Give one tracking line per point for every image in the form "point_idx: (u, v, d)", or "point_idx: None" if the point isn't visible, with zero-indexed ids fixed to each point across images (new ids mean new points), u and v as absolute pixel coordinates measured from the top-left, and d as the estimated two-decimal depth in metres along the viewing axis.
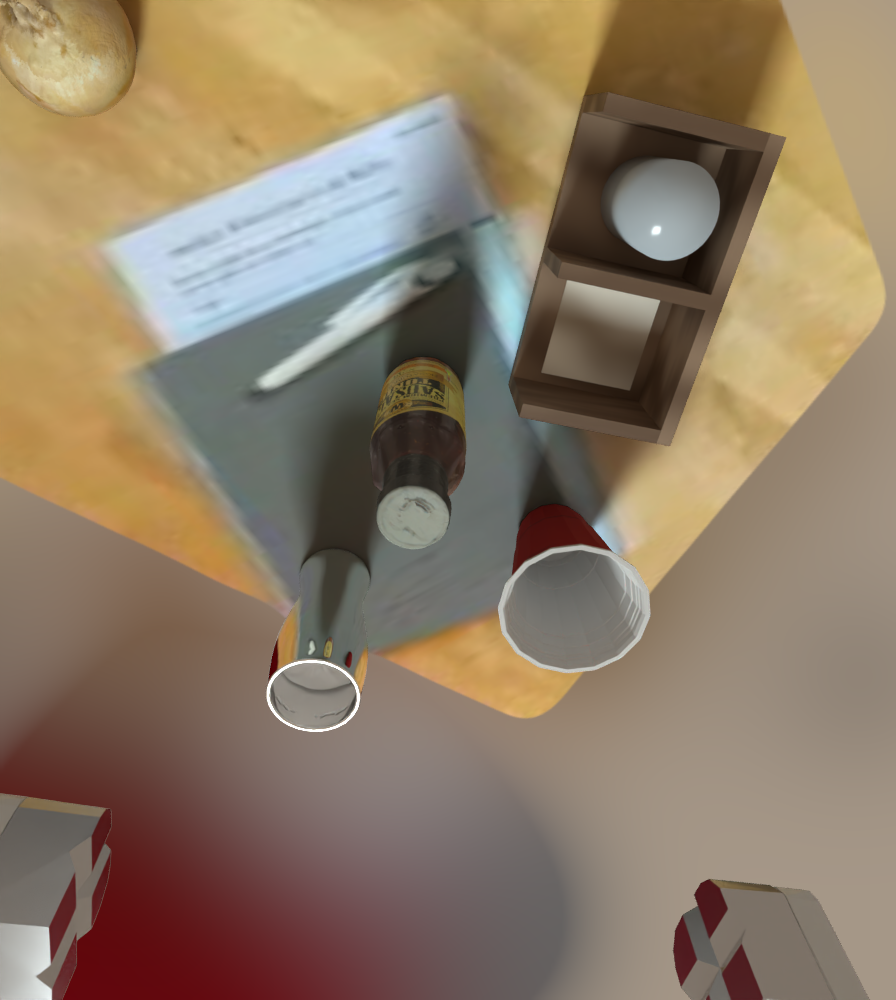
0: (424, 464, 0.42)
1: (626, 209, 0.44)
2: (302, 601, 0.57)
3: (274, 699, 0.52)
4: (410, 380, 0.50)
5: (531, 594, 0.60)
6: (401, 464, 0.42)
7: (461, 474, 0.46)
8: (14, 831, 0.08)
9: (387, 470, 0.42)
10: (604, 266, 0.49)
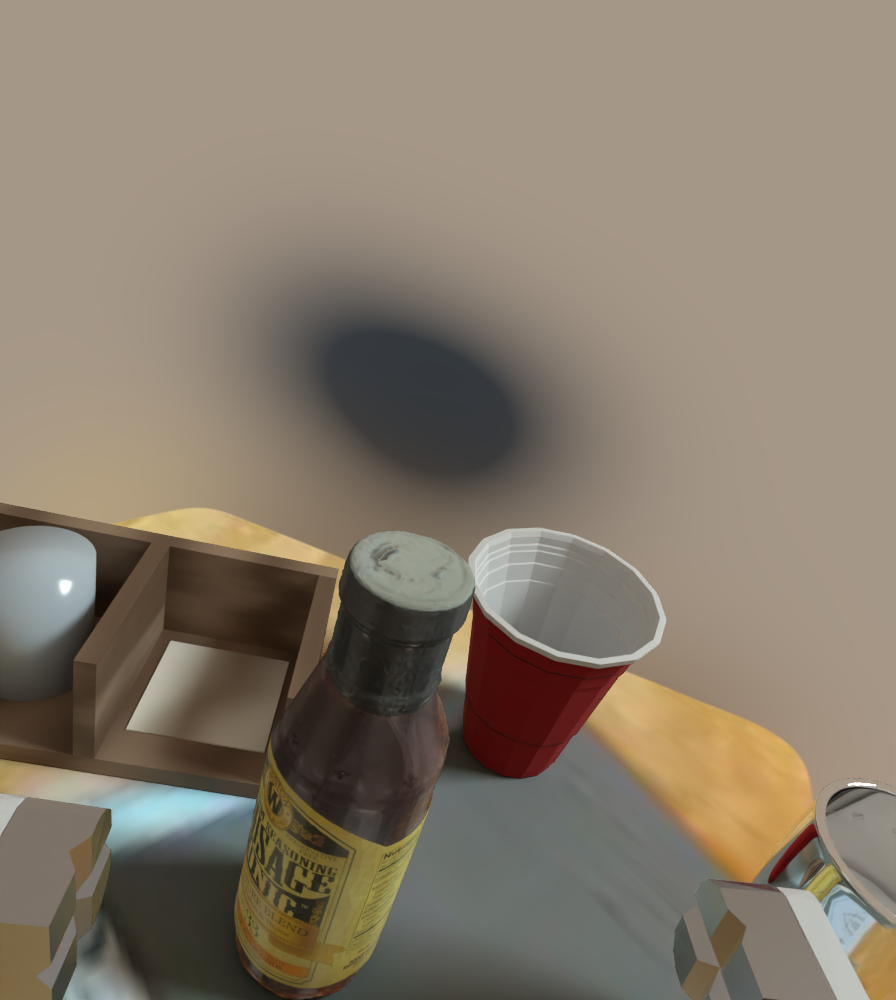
0: None
1: (15, 590, 0.34)
2: None
3: None
4: (249, 860, 0.27)
5: None
6: (340, 659, 0.23)
7: None
8: (14, 831, 0.08)
9: (360, 693, 0.23)
10: None
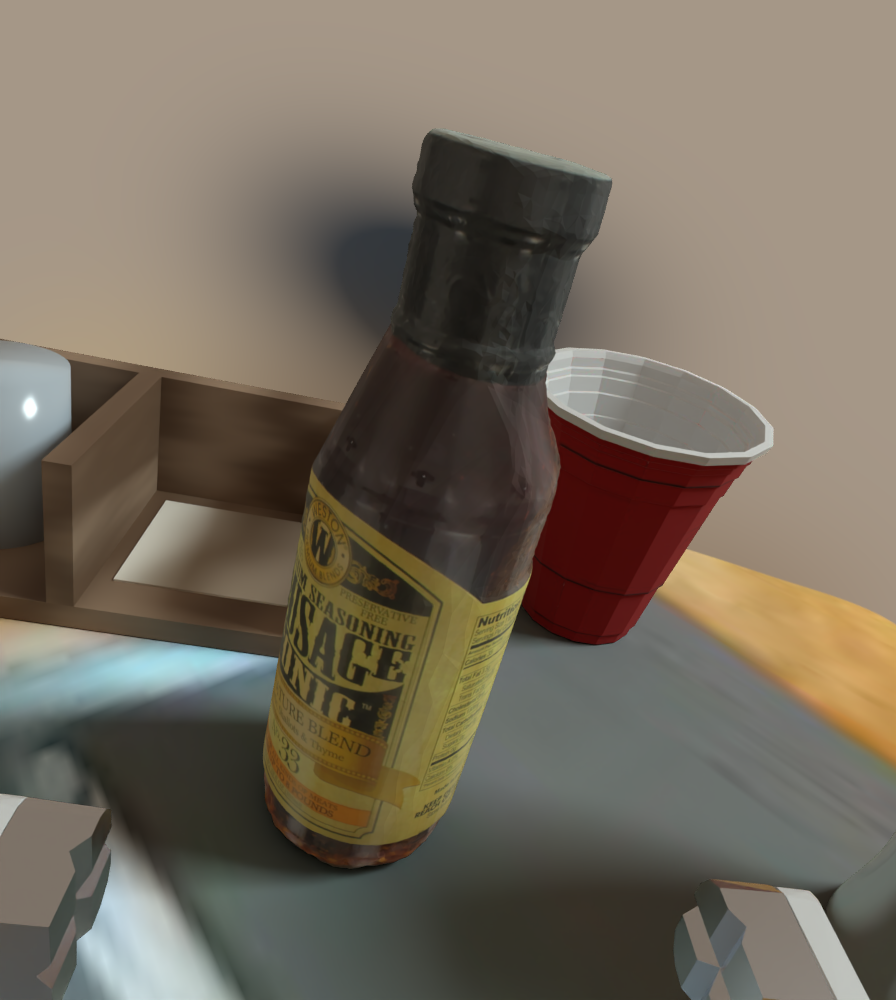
0: (403, 277, 0.17)
1: None
2: None
3: None
4: (285, 663, 0.20)
5: None
6: (417, 299, 0.16)
7: None
8: (14, 831, 0.08)
9: (449, 342, 0.15)
10: None
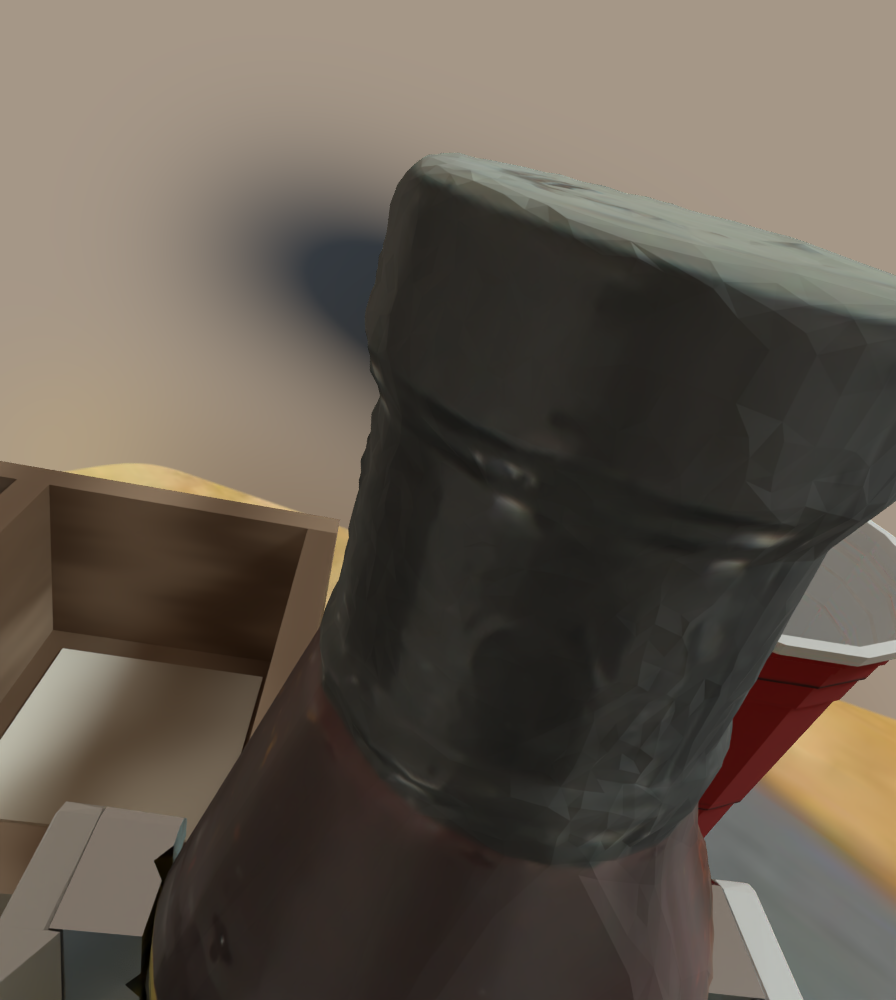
0: None
1: None
2: None
3: None
4: None
5: None
6: (380, 635, 0.06)
7: None
8: (99, 841, 0.09)
9: (471, 779, 0.05)
10: None
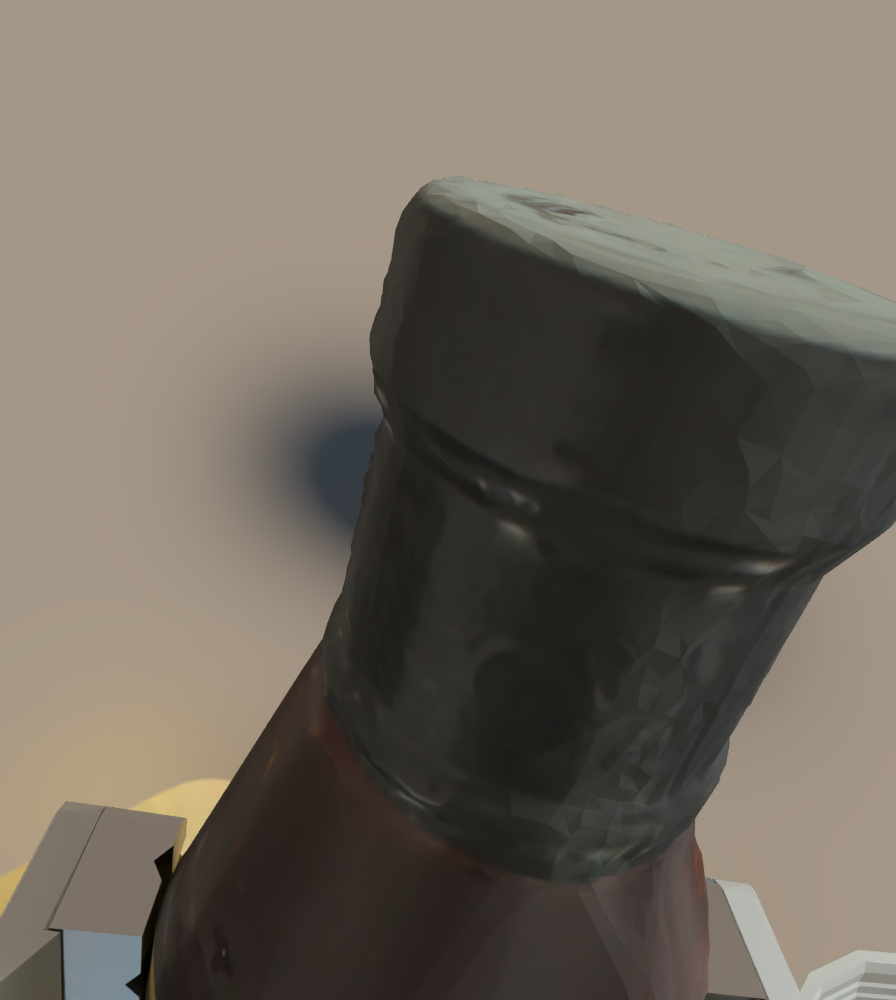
0: None
1: None
2: None
3: None
4: None
5: None
6: (382, 653, 0.06)
7: None
8: (98, 841, 0.09)
9: (472, 796, 0.05)
10: None
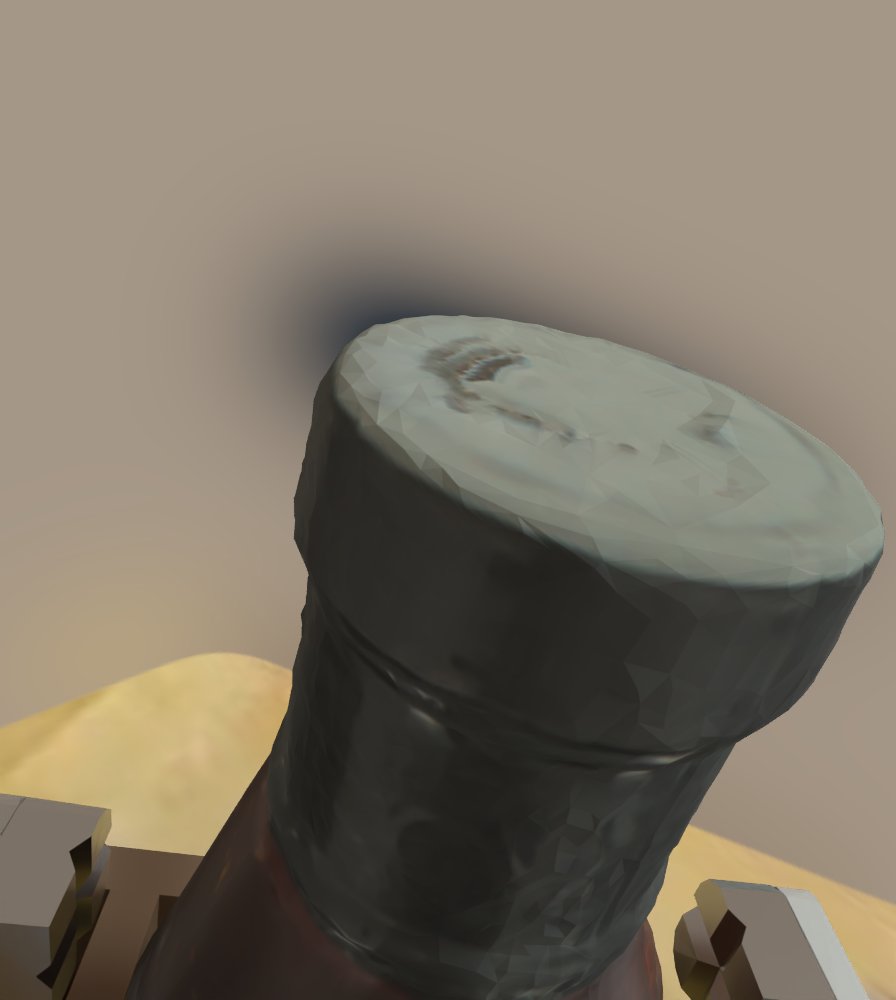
0: None
1: None
2: None
3: None
4: None
5: None
6: (316, 800, 0.06)
7: None
8: (14, 831, 0.08)
9: (402, 943, 0.05)
10: None
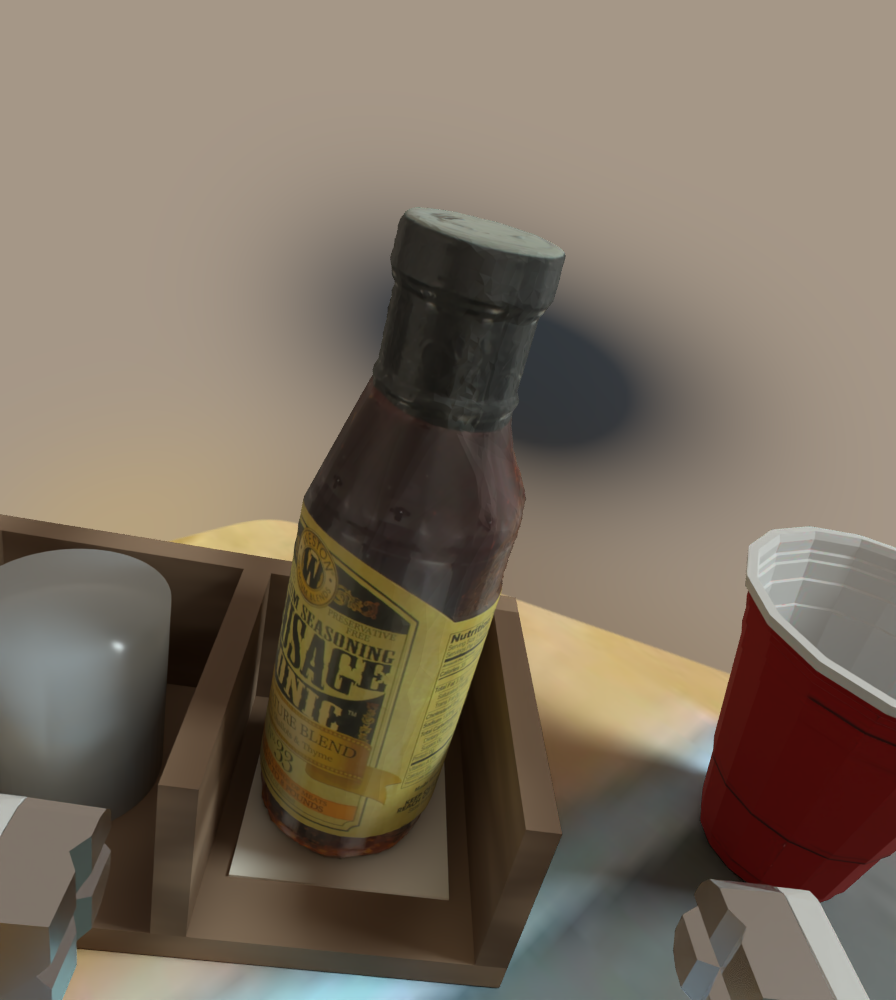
0: (384, 335, 0.19)
1: (47, 661, 0.20)
2: None
3: None
4: (279, 673, 0.22)
5: None
6: (394, 357, 0.18)
7: None
8: (14, 831, 0.08)
9: (422, 396, 0.18)
10: None
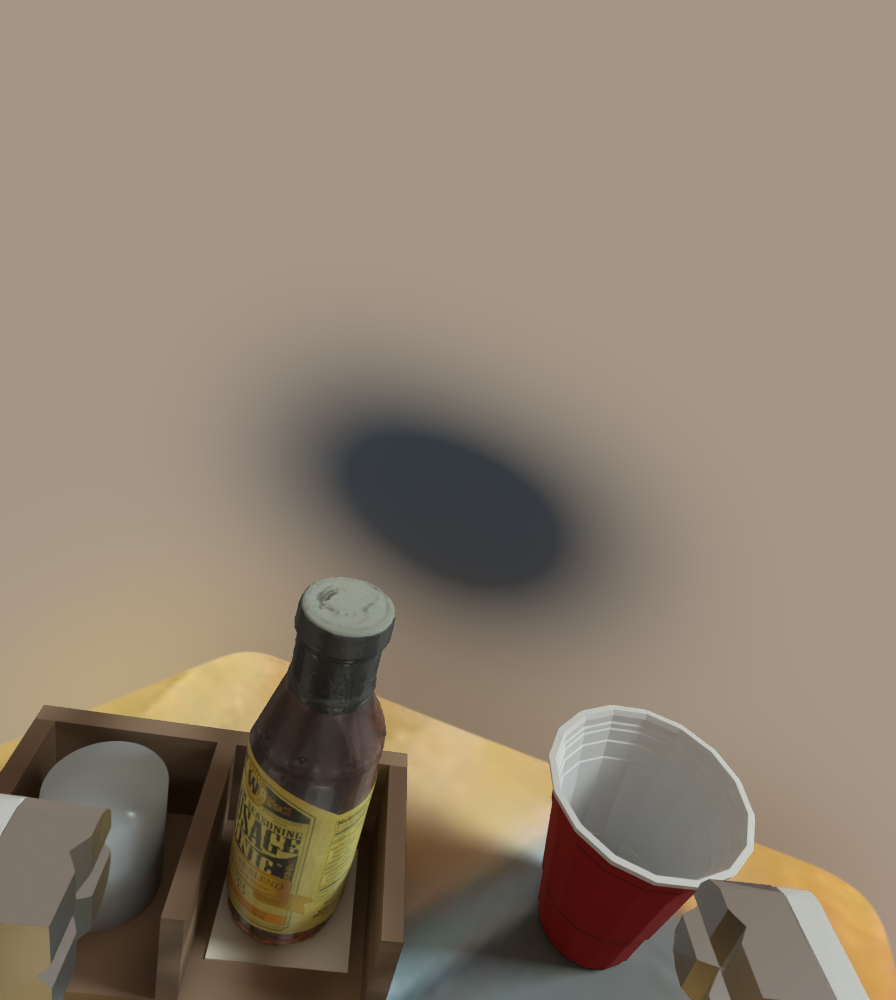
0: None
1: None
2: None
3: None
4: (236, 833, 0.35)
5: None
6: (297, 674, 0.31)
7: None
8: (14, 831, 0.08)
9: (312, 699, 0.31)
10: None
